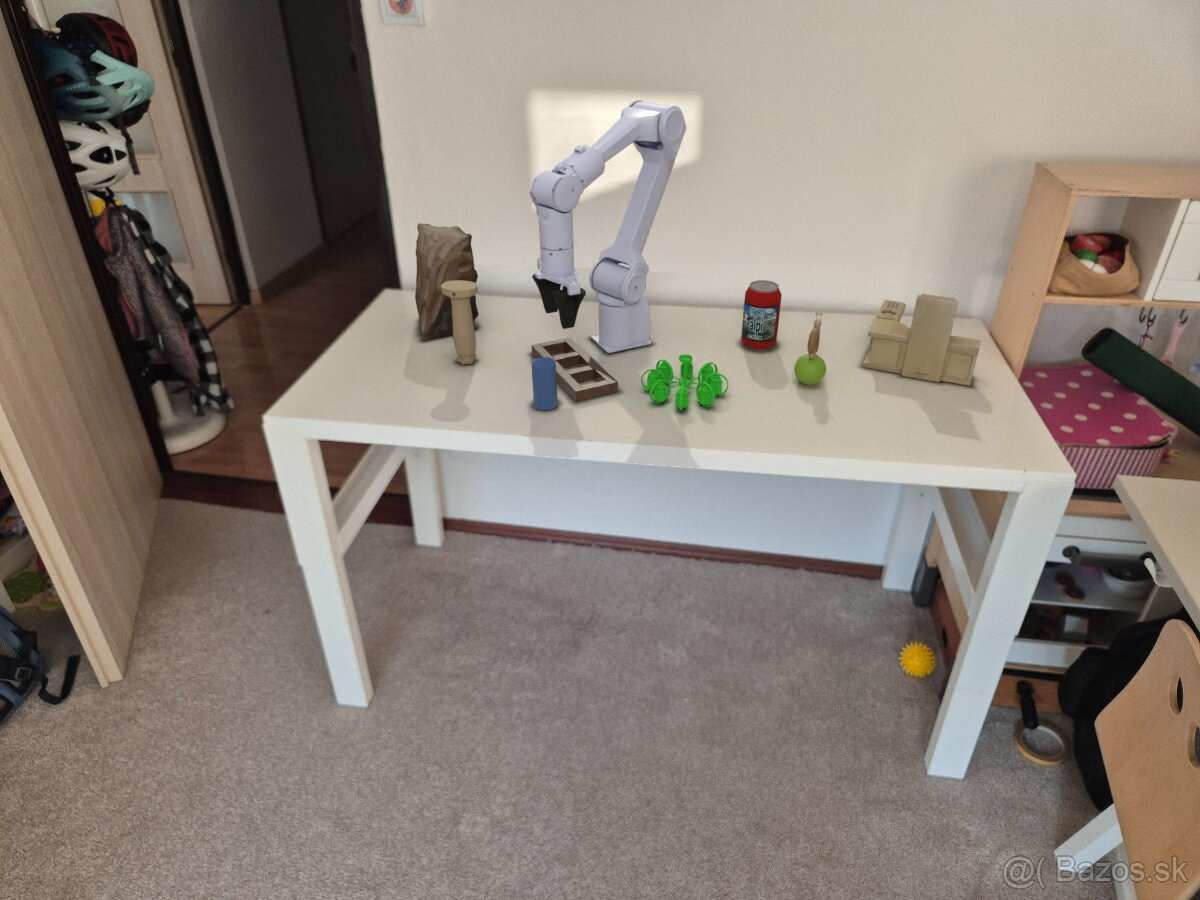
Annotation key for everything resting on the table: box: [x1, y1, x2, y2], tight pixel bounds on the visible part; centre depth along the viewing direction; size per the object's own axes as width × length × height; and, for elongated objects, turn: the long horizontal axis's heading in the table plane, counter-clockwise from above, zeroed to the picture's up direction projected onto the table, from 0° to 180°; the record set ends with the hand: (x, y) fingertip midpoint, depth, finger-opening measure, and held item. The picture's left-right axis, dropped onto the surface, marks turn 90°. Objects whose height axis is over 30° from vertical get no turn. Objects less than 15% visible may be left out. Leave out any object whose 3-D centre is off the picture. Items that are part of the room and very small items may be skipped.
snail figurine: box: [793, 311, 827, 386], centre depth 145 cm, size 5×6×12 cm
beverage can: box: [740, 279, 782, 351], centre depth 159 cm, size 7×7×12 cm
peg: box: [530, 357, 558, 411], centre depth 140 cm, size 4×4×8 cm
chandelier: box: [640, 354, 729, 411], centre depth 143 cm, size 15×15×7 cm
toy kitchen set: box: [862, 293, 982, 386], centre depth 151 cm, size 18×17×15 cm
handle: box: [441, 280, 479, 366], centre depth 153 cm, size 5×6×15 cm
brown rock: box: [414, 222, 480, 342], centre depth 165 cm, size 13×13×20 cm
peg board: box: [530, 336, 619, 403], centre depth 152 cm, size 8×21×2 cm, turn 25°
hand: (559, 319), depth 149 cm, fingers open, 7 cm apart
